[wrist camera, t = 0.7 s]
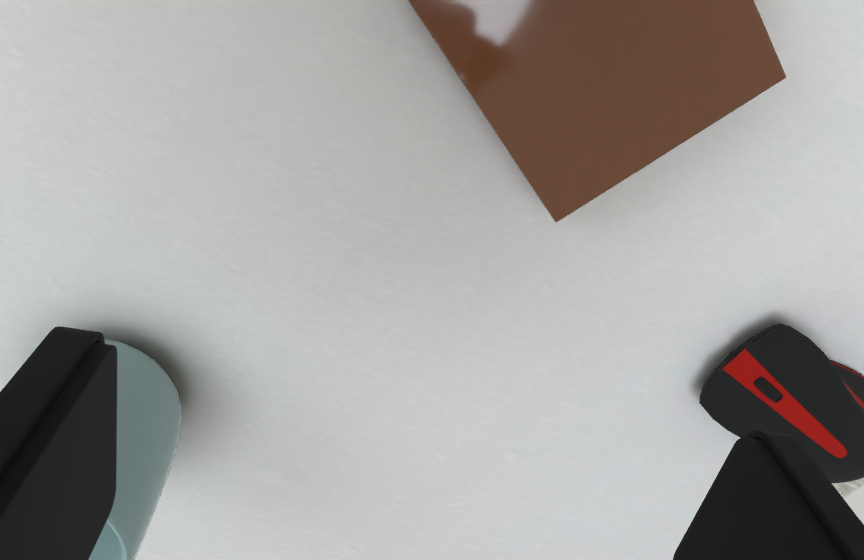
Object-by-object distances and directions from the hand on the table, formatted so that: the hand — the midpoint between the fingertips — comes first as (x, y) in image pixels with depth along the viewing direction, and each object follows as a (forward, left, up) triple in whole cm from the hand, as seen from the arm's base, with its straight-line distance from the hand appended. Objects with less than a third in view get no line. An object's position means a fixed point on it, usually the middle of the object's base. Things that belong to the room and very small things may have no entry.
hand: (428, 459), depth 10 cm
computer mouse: (+11, +22, -20) cm, 32 cm away
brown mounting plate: (-6, +5, -20) cm, 21 cm away
